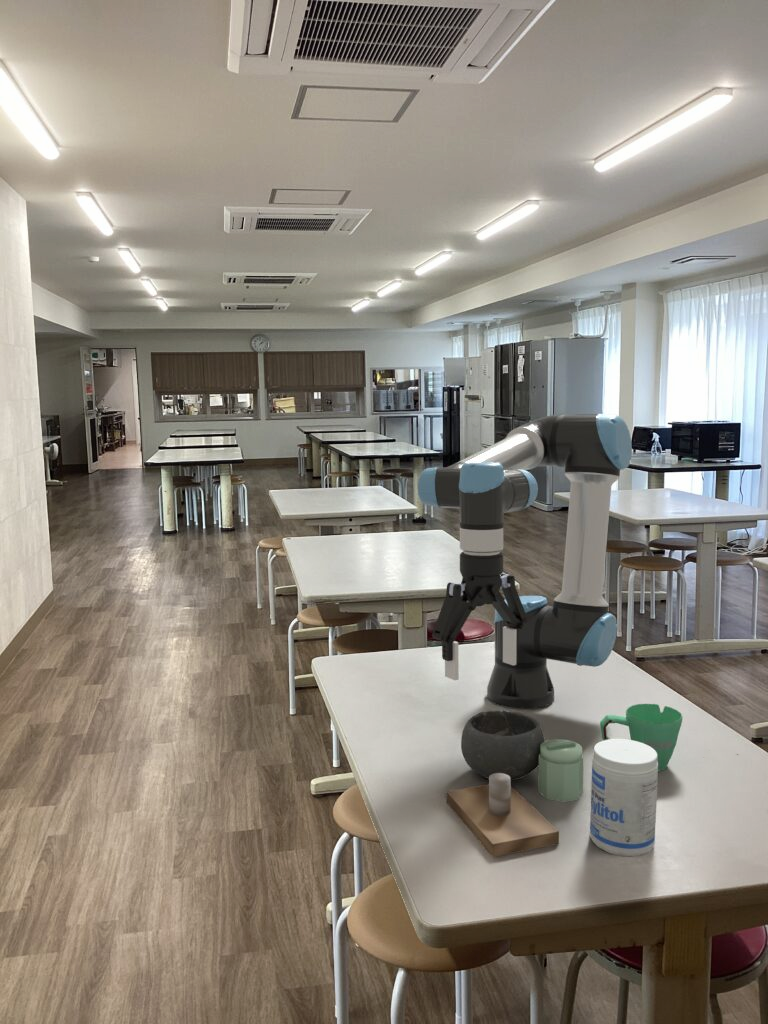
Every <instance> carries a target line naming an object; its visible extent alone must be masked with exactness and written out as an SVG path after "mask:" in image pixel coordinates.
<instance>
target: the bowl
mask: <svg viewBox="0 0 768 1024" xmlns="http://www.w3.org/2000/svg"><path fill="white" fill-rule="evenodd" d="M543 742H545V734H544V732H543V729H542V726H541V724H540V722H539V721H538V720H536V718H534V717H532V716H530V715H527V714H526V713H525V714H524V713H521V712H519V711H518V712H517V711H507V710H486V711H482V712H479V713H477V714H474V715H473V716H472V717H470V718H469V719H468V720H467V722H466V723H465V725H464V727H463V729H462V732H461V740H460V748H461V749H460V750H461V753H462V756H463V759H464V761H465V763H466V764H467V765H468V766H469V768H470V769H471V770H472V771H474V772H475V773H476V774H479V775H480V776H482V777H484V778H486V779H489V776H490V775H491V774H495V773H503V774H507V775H509V776H510V778H511V781H514V780H518V779H521V778H524V777H526V776H527V775H529V774H531V773H533V772H534V771H535V770H536V769H537V768H539V754H540V745H541V744H542V743H543Z"/></svg>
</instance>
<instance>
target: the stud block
mask: <svg viewBox="0 0 768 1024" xmlns="http://www.w3.org/2000/svg"><path fill="white" fill-rule="evenodd" d="M511 782H512V780H511V778H510V776H509V775H507V774H503V773H495V774H491V775H490V776H489V778H488V784H483V785H478V786H477V785H476V786H472V787H465V788H459V789H455V790H454V789H453V790H447V791H446V804H447V805H448V806H449V808H450V809H451V810H452V811H453V812H454V813H455V815H457V817H458V818H459V819H460V820H461V821H462V823H463V824H464V825H465V826H466V828H468V830H469V831H470V832H471V833H472V834H473V836H474V837H475V838H476V839H477V840H478V842H479V843H480V844H481V845H482V846H483V847H484V848H485V850H486V851H487V852H488V853H489V854H490V855H491V856H492V858H495V857H499V856H504V855H510V854H514V853H519V852H524V851H529V850H535V849H539V848H544V847H549V846H554V845H555V846H556V845H558V844H559V843H560V842H559V841H560V840H559V839H560V837H559V833H560V832H559V830H558V829H557V828H556V827H555V826H554V825H553V824H552V823H550V822H549V821H548V820H547V819H546V818H545V817H544V816H543V815H542V814H541V813H540V812H539V811H538V810H537V809H535V807H534V806H533V805H531V803H529V802H528V801H527V800H526V799H525V797H523V796H522V795H521V794H520V793H519V792H518V791H517V790H516V789H515V788H513V787H512V786H511Z"/></svg>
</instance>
